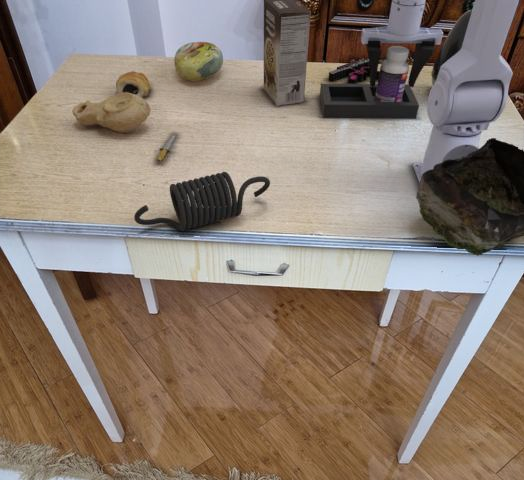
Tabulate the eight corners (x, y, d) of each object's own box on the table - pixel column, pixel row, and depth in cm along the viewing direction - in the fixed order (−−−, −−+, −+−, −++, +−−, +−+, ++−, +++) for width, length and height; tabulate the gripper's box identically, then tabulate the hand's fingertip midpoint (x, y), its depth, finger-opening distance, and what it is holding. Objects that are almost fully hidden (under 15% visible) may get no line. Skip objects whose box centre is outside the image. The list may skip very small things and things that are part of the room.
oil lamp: (80, 123, 91) (67, 99, 87) (149, 101, 91) (139, 75, 87) (85, 154, 85) (71, 129, 81) (158, 130, 86) (148, 104, 82)
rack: (415, 118, 91) (419, 105, 90) (323, 117, 92) (324, 104, 90) (406, 96, 98) (409, 84, 96) (319, 96, 98) (320, 83, 96)
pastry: (122, 82, 102) (119, 62, 99) (153, 82, 102) (150, 63, 99) (116, 100, 96) (112, 80, 93) (149, 100, 96) (145, 80, 93)
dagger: (169, 131, 86) (179, 133, 86) (169, 135, 87) (179, 138, 87) (152, 157, 79) (164, 159, 79) (152, 162, 80) (164, 164, 80)
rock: (431, 209, 56) (397, 256, 65) (584, 249, 57) (530, 290, 66) (437, 110, 63) (406, 164, 73) (572, 147, 64) (525, 196, 74)
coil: (264, 204, 75) (272, 241, 70) (137, 201, 71) (135, 239, 66) (270, 164, 69) (279, 201, 64) (132, 158, 65) (130, 197, 60)
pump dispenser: (479, 107, 95) (510, 20, 83) (427, 103, 96) (451, 16, 84) (473, 87, 101) (501, 3, 89) (425, 83, 102) (446, 0, 90)
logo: (366, 56, 108) (399, 69, 103) (365, 64, 109) (398, 77, 104) (325, 70, 102) (358, 85, 97) (324, 78, 103) (357, 93, 99)
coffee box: (262, 88, 100) (262, -2, 87) (290, 85, 101) (294, -5, 89) (275, 106, 94) (278, 12, 82) (305, 102, 96) (312, 9, 83)
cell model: (172, 78, 98) (165, 26, 102) (186, 106, 105) (179, 56, 110) (219, 61, 96) (210, 9, 100) (231, 90, 103) (222, 40, 108)
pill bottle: (400, 110, 92) (412, 55, 84) (373, 107, 93) (383, 53, 85) (401, 99, 95) (413, 45, 88) (374, 96, 96) (384, 43, 89)
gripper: (444, -5, 83) (423, 76, 94) (364, -6, 83) (352, 76, 94) (454, 7, 79) (431, 91, 89) (369, 6, 79) (356, 90, 89)
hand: (391, 84), depth 91 cm, fingers open, 7 cm apart
